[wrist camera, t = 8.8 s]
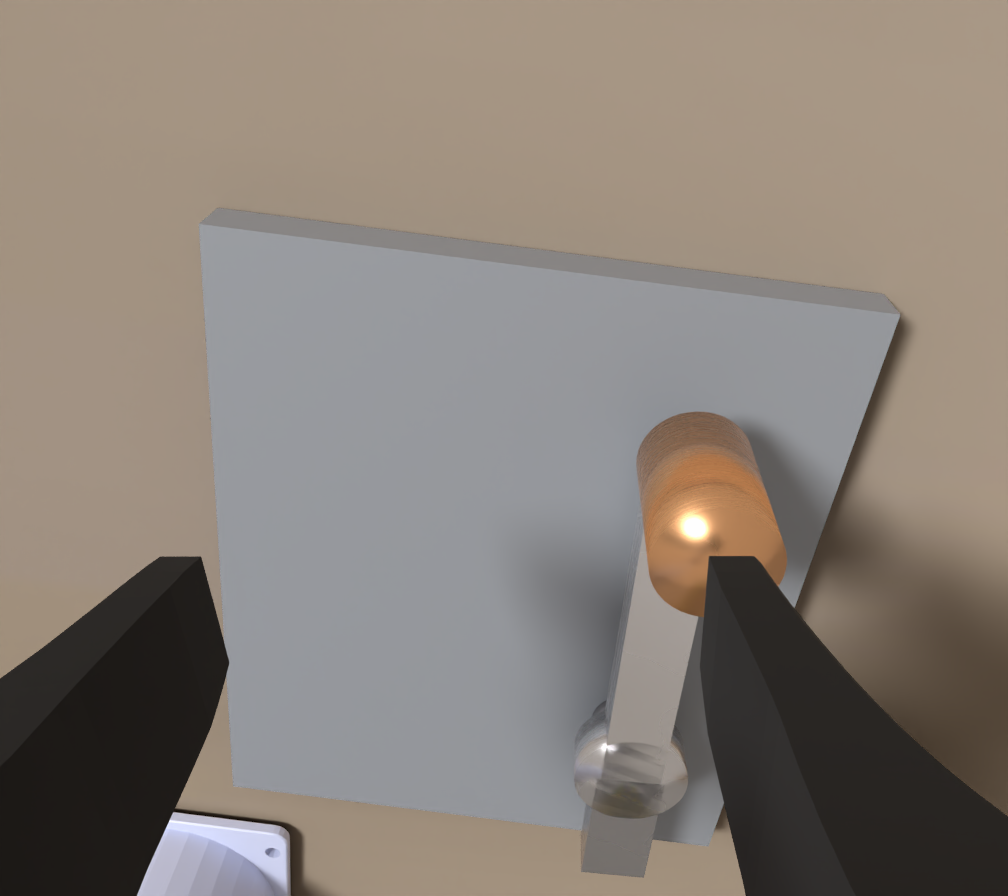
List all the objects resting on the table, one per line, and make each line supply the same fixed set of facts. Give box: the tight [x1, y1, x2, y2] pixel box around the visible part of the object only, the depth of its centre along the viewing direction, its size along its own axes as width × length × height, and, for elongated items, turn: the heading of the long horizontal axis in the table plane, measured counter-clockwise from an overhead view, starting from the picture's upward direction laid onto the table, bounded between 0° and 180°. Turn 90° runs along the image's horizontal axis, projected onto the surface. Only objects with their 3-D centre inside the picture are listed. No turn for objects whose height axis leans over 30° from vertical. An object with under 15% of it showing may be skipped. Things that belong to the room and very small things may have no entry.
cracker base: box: [199, 208, 900, 846], centre depth 23 cm, size 18×20×4 cm
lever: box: [574, 412, 787, 878], centre depth 21 cm, size 15×3×5 cm, turn 176°
